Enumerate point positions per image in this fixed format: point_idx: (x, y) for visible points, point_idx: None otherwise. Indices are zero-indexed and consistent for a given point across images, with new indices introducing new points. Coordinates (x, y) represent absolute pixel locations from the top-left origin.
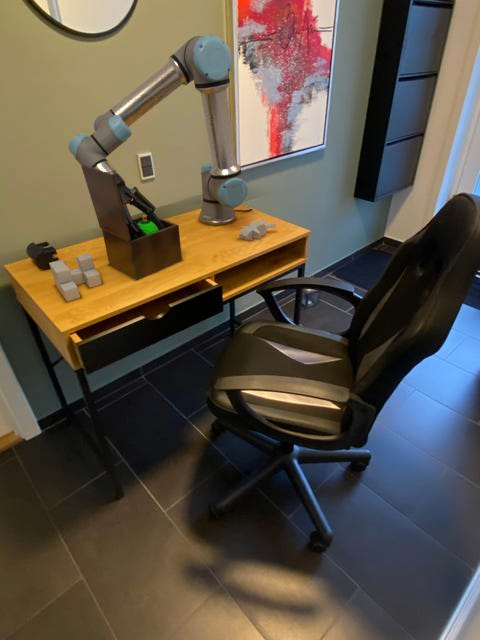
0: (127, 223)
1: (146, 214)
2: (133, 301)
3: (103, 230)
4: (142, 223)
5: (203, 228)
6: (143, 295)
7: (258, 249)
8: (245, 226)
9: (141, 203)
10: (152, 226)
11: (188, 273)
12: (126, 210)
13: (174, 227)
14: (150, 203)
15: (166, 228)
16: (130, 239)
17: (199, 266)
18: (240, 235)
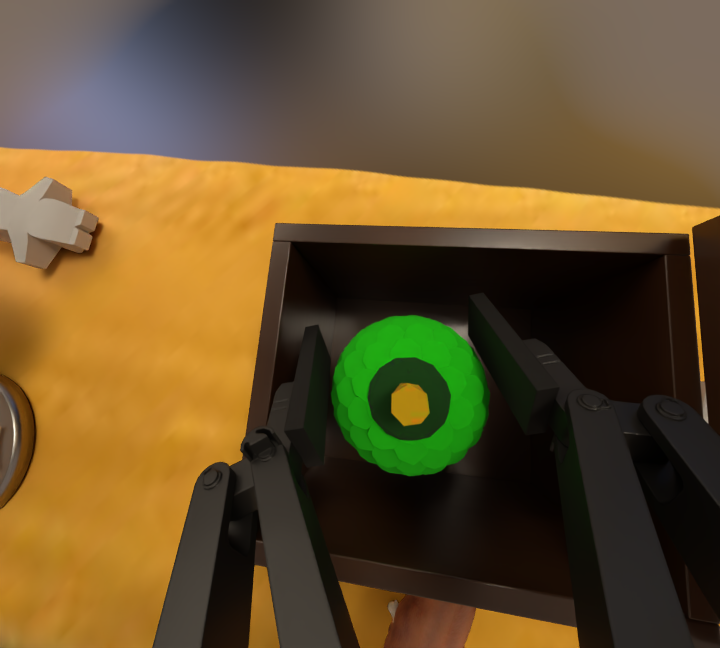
0: (631, 407)
1: (309, 494)
2: (635, 201)
3: (712, 619)
4: (447, 386)
5: (72, 427)
6: (586, 206)
7: (135, 161)
8: (19, 246)
9: (303, 591)
10: (395, 332)
11: (386, 207)
12: (637, 555)
13: (310, 226)
14: (192, 543)
15: (361, 235)
16: (707, 222)
17: (328, 215)
18: (82, 241)
